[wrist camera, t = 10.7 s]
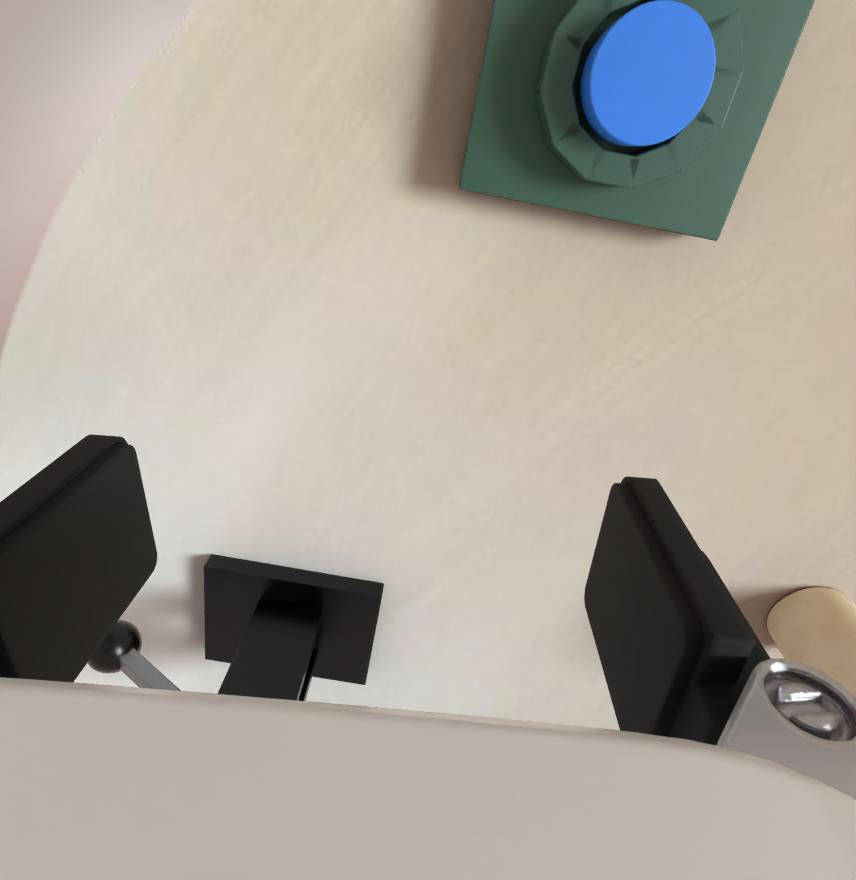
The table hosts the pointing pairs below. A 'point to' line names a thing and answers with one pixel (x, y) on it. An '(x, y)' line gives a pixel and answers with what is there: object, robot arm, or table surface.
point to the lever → (128, 658)
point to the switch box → (598, 161)
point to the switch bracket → (286, 627)
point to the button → (648, 74)
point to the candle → (817, 632)
